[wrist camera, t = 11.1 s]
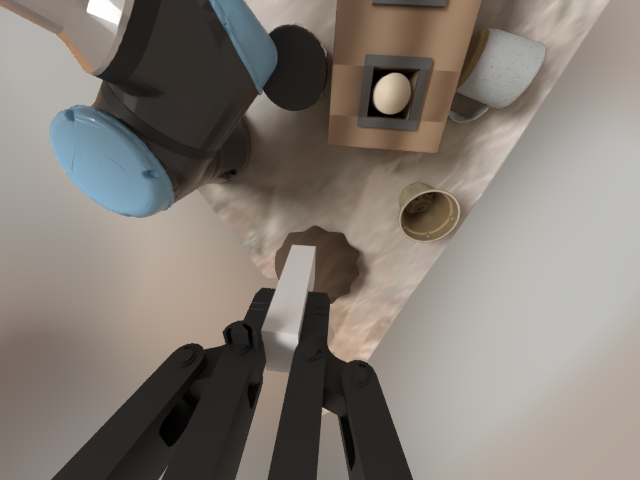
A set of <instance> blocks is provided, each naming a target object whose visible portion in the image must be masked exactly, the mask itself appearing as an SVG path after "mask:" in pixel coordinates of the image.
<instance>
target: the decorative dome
mask: <svg viewBox="0 0 640 480" xmlns="http://www.w3.org/2000/svg"><path fill="white" fill-rule="evenodd" d="M292 245H303V246H316V252H315V281H314V287H313V292H322V293H327V294H328V297H329V299H330V304H332V303H334V302H335V300H336V299H337V298H338V297H340V296H342V295H345V294H348V293H350V284H351V282H352V281H353V280H354V279H355V278H357V277H358V276H359V272H358V270H357V267H356V261H357V259H358V256H359V252H358V251H357V250H355V249H354V248H352V247H351V246H350V245H349V244H348V242H347V240H346V238H345V236H344V234H343V233H337V232H327V231H325V230H324V229H322V228H320V227H318V226H313V227H311V228H309V229H308V230H306V231H304V232H294V233H289V234H288V236H287V238H286V239H285V241H284V243H283V245H282V247H281V248H280V249H279V250H278V251H277V252H276V258H275V270H276V274H277V277H278V279H279V280H280V277H281V274H282V271H283V269H284V266H285V263H286V260H287V258H288V255H289V252H290V249H291V247H292Z"/></svg>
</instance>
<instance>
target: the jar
mask: <svg viewBox="0 0 640 480" xmlns="http://www.w3.org/2000/svg"><path fill="white" fill-rule="evenodd" d="M268 35H269V36H270V37H271V39H272V41H273V42H274V44H275V47H276V50H277V64H276V67H275V69H274V71H273V73H272V74H271V76H270V77H269V79H268V80H267V82H266V84H265V85H264V87H263V90H264V92H265V94H266V95H267V96H268V98H269V99H270V100H271V101H272V102H273V103H275V104H276V105H277V106H279V107H281V108H283V109H286V110H290V111H299V110H303V109H306V108H308V107H310V106H311V105H313V104H314V103H315V102H316V101H317V100H318V99H319V97H320V96H322V95H323V90H324V88H325V85H326V80H327V72H328V69H327V67H328V65H327V57H328V52H327V51H326V49H325V48H324V47H323V46H322V45H321V42H320V41H319V40H318V39H317V38H316V37H315V36H314V35H313V34H312V33H311V32H310V31H309V30H308V29H307V28H304V27H303V26H302V25H301V24H300V23H299V22H297V21H295V22H293V23H292V24H290V25H289V24H288V25H282V26H281V27H280V26H279V27H277V28H275V29H274V30H273V31H272V32H270V33H269V34H268Z"/></svg>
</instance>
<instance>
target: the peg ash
mask: <svg viewBox="0 0 640 480" xmlns="http://www.w3.org/2000/svg"><path fill="white" fill-rule="evenodd" d="M410 95H411V87H410V83H409V81H408V79H407V78H406V77H405V76H404V75H402V74H399V73H391V74H388V75H386V76H384V77H383V78H381V79H379V80H377V81H375V82H374V83H372V84H371V91H370V98H369V105H370V107H371V108H373V109H375V110H377V111H380V112H382V113H385V114H395V113H398V112H399V111H401V110H402V109H403V108H404V107H405V106H406V105H407V103H408V101H409V99H410Z"/></svg>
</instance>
